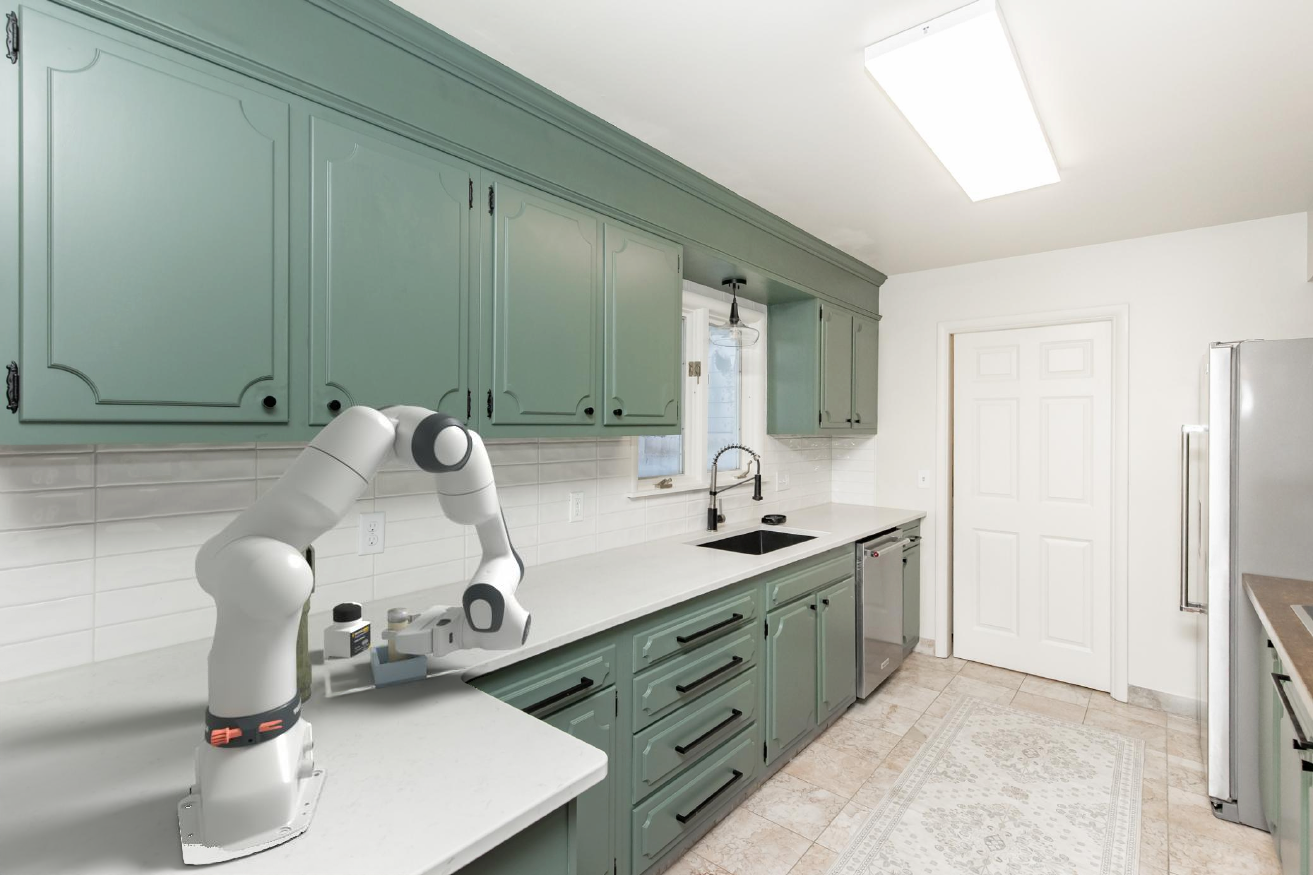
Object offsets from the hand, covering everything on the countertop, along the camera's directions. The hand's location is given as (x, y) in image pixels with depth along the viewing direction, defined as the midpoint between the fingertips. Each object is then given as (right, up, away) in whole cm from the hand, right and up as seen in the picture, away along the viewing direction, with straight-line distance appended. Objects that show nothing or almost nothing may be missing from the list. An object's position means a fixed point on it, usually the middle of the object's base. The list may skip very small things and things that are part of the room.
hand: (393, 626), depth 135 cm
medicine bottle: (-15, -10, +10) cm, 21 cm away
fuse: (+1, -10, 0) cm, 10 cm away
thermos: (-16, -11, -13) cm, 23 cm away
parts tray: (+1, -10, 0) cm, 10 cm away
